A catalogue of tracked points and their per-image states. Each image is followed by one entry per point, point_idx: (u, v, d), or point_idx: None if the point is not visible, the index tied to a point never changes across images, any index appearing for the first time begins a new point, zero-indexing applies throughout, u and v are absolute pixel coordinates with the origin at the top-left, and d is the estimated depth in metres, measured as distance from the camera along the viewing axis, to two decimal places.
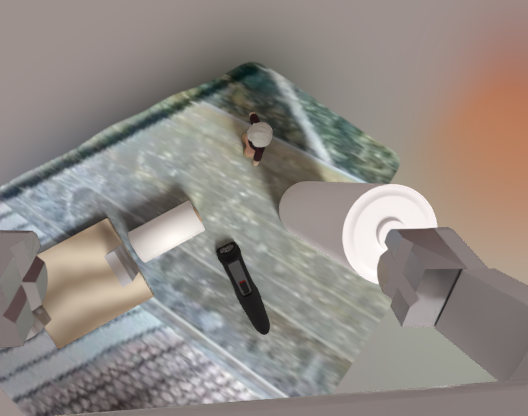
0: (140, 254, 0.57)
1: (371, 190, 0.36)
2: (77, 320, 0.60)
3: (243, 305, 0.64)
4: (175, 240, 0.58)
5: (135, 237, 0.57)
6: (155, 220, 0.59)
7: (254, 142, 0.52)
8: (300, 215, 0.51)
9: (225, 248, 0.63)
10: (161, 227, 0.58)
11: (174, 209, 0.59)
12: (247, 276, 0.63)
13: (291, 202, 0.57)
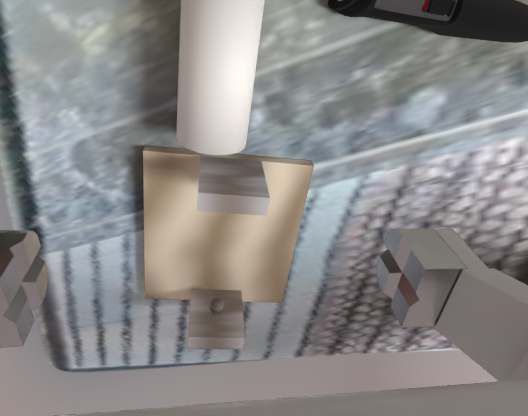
0: (214, 150, 0.28)
1: None
2: (265, 268, 0.39)
3: (461, 33, 0.29)
4: (231, 74, 0.25)
5: (183, 134, 0.28)
6: (178, 78, 0.27)
7: None
8: None
9: None
10: (190, 79, 0.26)
11: (180, 27, 0.26)
12: None
13: None
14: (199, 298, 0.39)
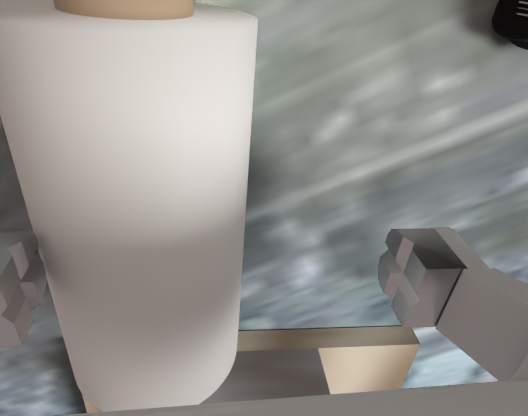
0: (74, 376, 0.12)
1: None
2: None
3: None
4: (45, 245, 0.08)
5: None
6: None
7: None
8: None
9: None
10: None
11: None
12: None
13: None
14: None
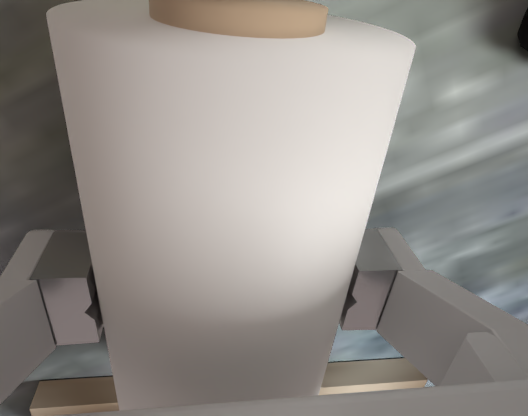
0: None
1: None
2: None
3: None
4: (250, 353, 0.06)
5: None
6: None
7: None
8: None
9: None
10: (114, 334, 0.07)
11: None
12: None
13: None
14: None
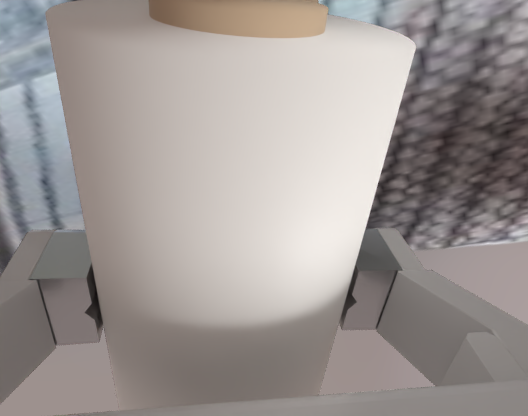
0: None
1: None
2: None
3: None
4: (250, 354, 0.06)
5: None
6: None
7: None
8: None
9: None
10: (113, 334, 0.07)
11: None
12: None
13: None
14: None
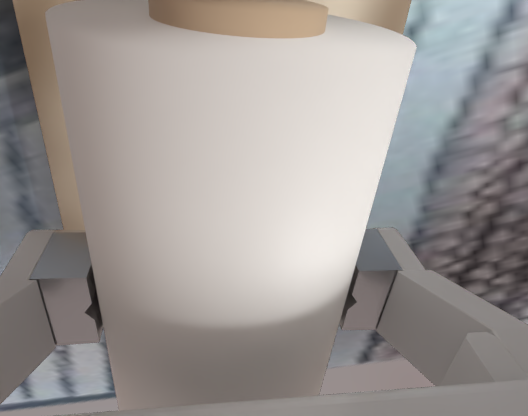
0: None
1: None
2: None
3: None
4: (250, 355, 0.06)
5: None
6: None
7: None
8: None
9: None
10: (113, 335, 0.07)
11: None
12: None
13: None
14: None
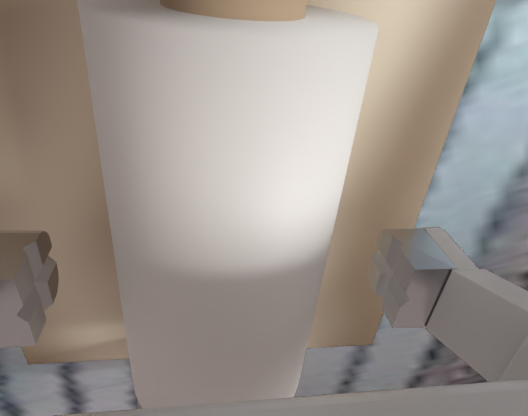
0: None
1: None
2: (337, 267, 0.15)
3: None
4: (244, 288, 0.07)
5: (133, 375, 0.11)
6: None
7: None
8: None
9: None
10: (128, 279, 0.08)
11: None
12: None
13: None
14: None
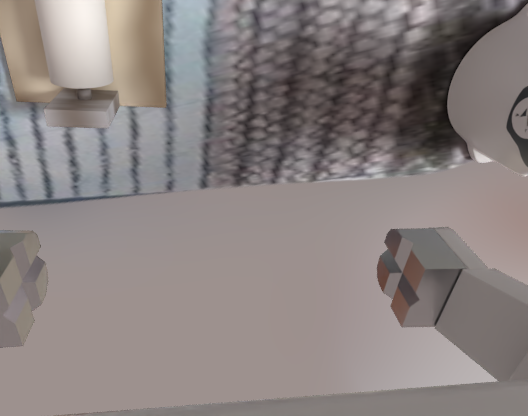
0: (68, 83, 0.33)
1: None
2: (136, 59, 0.38)
3: None
4: (65, 15, 0.31)
5: (48, 70, 0.34)
6: None
7: None
8: None
9: None
10: (40, 21, 0.32)
11: None
12: None
13: None
14: (69, 92, 0.37)
